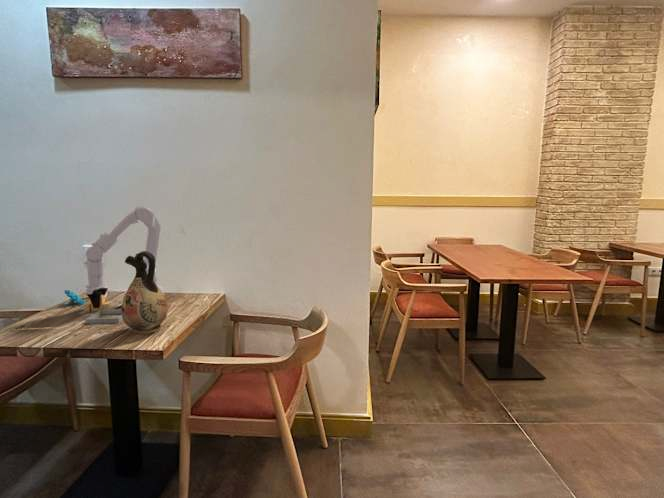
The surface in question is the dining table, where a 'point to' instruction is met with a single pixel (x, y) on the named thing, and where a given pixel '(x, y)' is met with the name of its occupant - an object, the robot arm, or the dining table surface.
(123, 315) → the ceramic jug
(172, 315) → the dining table surface
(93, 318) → the parts tray
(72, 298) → the gear
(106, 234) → the robot arm
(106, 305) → the panel
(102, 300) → the block
